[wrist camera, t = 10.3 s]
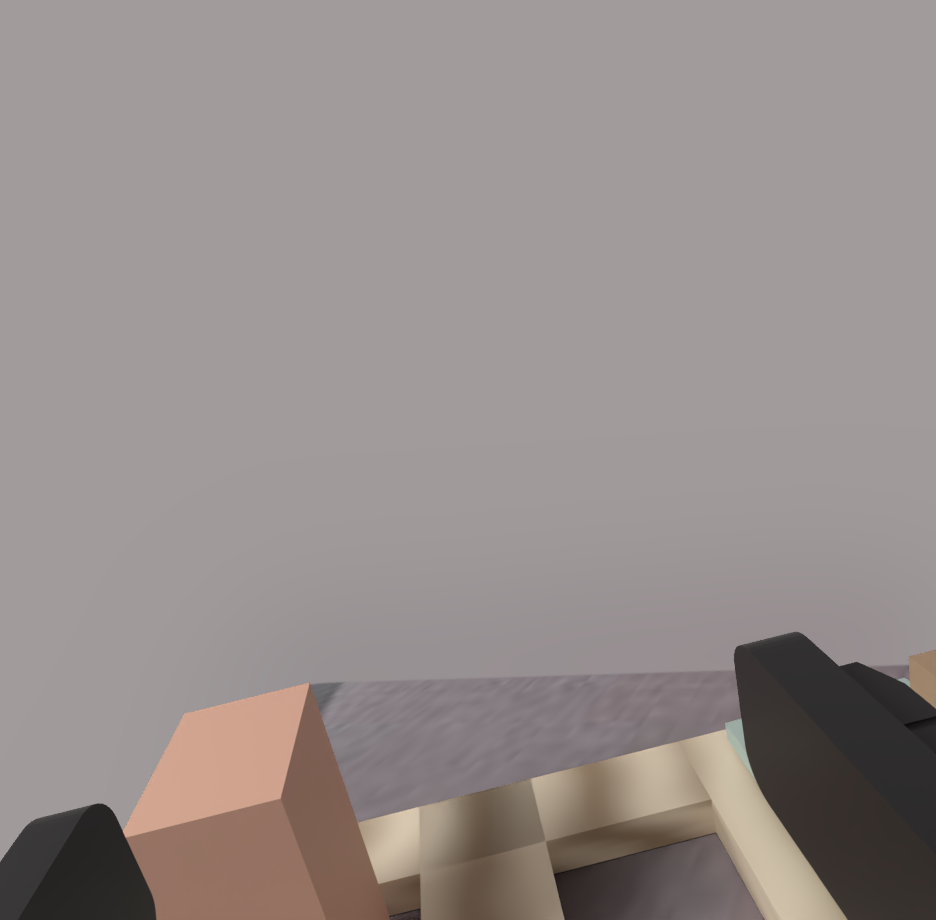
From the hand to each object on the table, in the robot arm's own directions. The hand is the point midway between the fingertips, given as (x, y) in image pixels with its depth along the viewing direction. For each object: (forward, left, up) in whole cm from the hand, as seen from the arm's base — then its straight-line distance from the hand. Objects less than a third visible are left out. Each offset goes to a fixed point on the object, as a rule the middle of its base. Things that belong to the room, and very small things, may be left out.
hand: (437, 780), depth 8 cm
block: (+9, -13, -22) cm, 27 cm away
